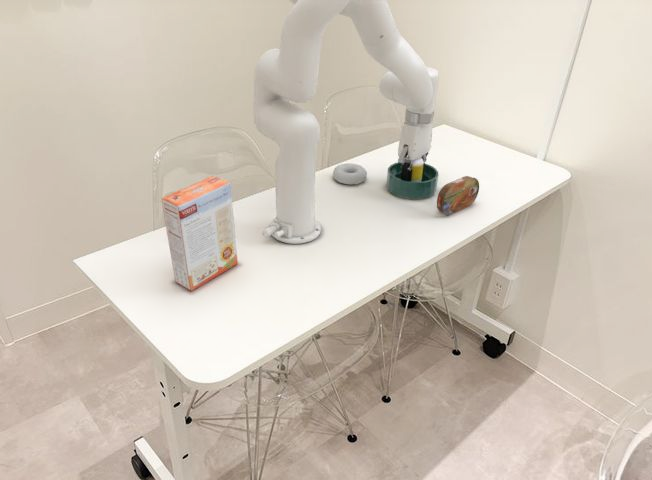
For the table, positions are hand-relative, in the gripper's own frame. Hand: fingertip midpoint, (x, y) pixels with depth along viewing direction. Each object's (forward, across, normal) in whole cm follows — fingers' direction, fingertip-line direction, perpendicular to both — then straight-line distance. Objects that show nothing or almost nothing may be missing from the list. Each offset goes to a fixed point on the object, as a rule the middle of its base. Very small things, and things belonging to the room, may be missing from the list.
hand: (412, 177), depth 166 cm
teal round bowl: (+4, 0, 0) cm, 4 cm away
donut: (+4, +7, -17) cm, 19 cm away
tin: (+4, +2, +16) cm, 16 cm away
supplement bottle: (+2, 0, 0) cm, 2 cm away
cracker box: (+4, +67, -10) cm, 68 cm away
